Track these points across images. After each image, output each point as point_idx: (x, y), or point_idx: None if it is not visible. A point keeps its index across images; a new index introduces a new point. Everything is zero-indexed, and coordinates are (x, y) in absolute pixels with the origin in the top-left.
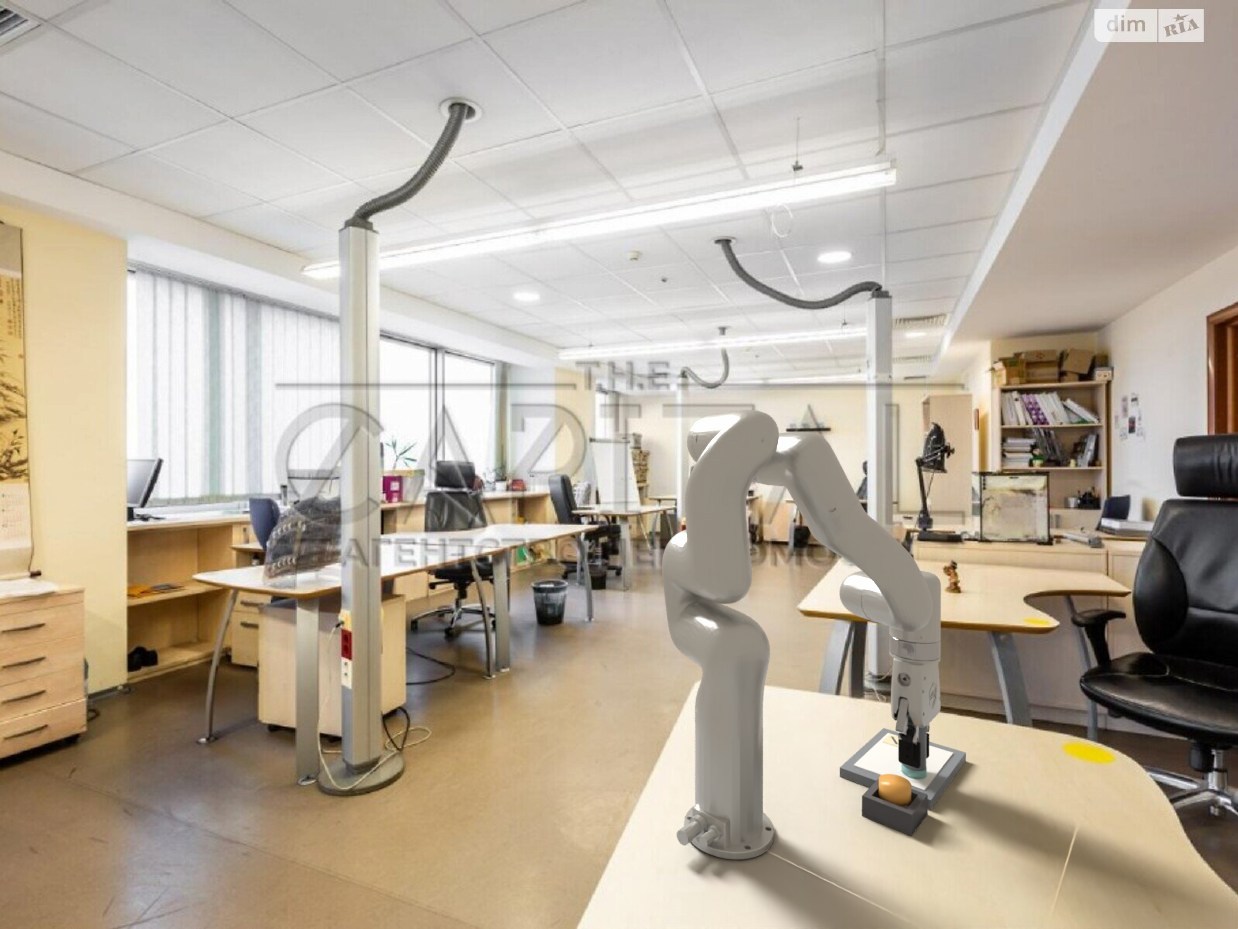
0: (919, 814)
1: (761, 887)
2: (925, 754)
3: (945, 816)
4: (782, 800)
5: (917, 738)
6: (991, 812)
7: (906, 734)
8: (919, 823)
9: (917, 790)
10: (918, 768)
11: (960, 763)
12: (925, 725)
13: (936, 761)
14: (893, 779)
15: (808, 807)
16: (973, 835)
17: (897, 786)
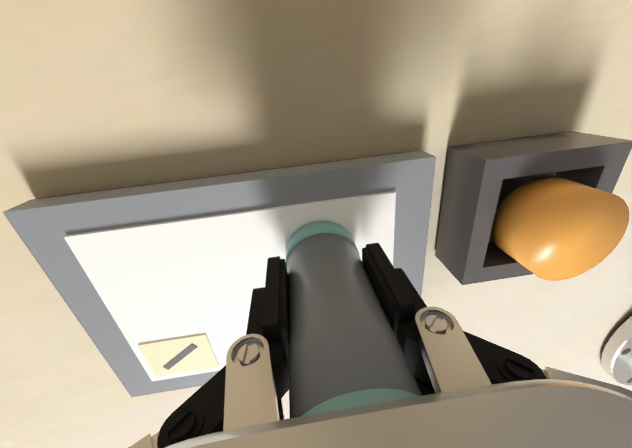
0: (542, 143)
1: None
2: (332, 263)
3: (417, 110)
4: (543, 338)
5: (426, 330)
6: (290, 4)
7: (558, 374)
8: (518, 139)
9: (404, 204)
10: (352, 246)
11: (91, 197)
12: (575, 392)
13: (185, 243)
14: (564, 249)
15: (544, 307)
16: (473, 2)
17: (607, 222)
